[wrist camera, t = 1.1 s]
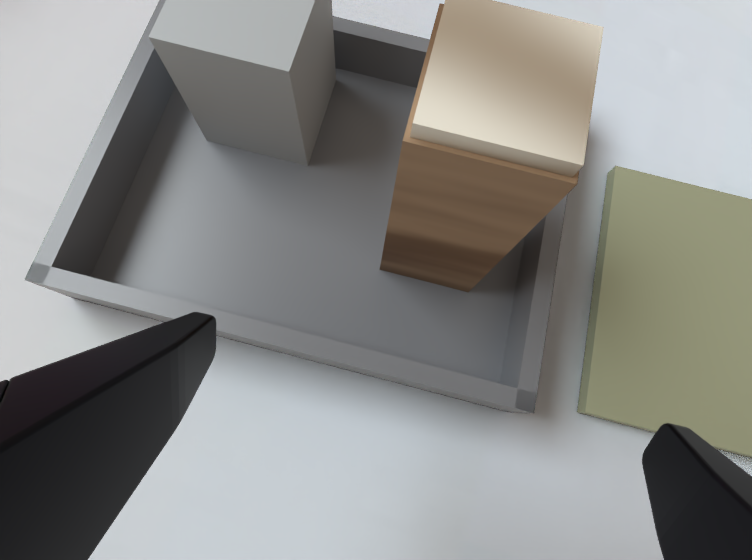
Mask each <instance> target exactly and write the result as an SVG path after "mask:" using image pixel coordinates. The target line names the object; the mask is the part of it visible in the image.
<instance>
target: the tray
mask: <svg viewBox="0 0 752 560" xmlns="http://www.w3.org/2000/svg"><path fill="white" fill-rule="evenodd" d="M165 1H166V0H159V3H158V5H157V7H156V9H155V11H154V13H153V15H152V17H151V19H150V21H149V23H148V25H147V27H146V29H145V31H144V34H143V36H142V38H141V40H140V42H139V44H138V46H137V48H136V50H135V52H134V54H133V56H132V58H131V60H130V62H129V65H128V67H127V69H126V71H125V73H124V75H123V77H122V79H121V81H120V83H119V85H118V87H117V89H116V91H115V93H114V96H113V98H112V100H111V102H110V104H109V106H108V108H107V110H106V112H105V114H104V116H103V118H102V120H101V122H100V125H99V127H98V129H97V131H96V133H95V135H94V137H93V139H92V141H91V143H90V145H89V147H88V149H87V151H86V153H85V156H84V158H83V160H82V162H81V164H80V166H79V168H78V170H77V172H76V174H75V176H74V178H73V180H72V182H71V184H70V187H69V189H68V191H67V193H66V195H65V197H64V199H63V201H62V203H61V205H60V207H59V209H58V211H57V213H56V215H55V218H54V220H53V222H52V224H51V226H50V228H49V230H48V232H47V234H46V236H45V238H44V240H43V242H42V244H41V246H40V249H39V251H38V253H37V255H36V257H35V259H34V261H33V263H32V265H31V267H30V269H29V271H28V273H27V275H26V278H25V280H27V281H29V282H32V283H34V284H37V285H40V286H42V287H45V288H48V289H50V290H53V291H56V292H58V293H61V294H64V295H66V296H69V297H72V298H76V299H79V300H83V301H87V302H91V303H95V304H99V305H102V306H106V307H110V308H114V309H118V310H121V311H125V312H129V313H133V314H137V315H140V316H144V317H148V318H152V319H156V320H160V321H163V322H167V321H170V320H173V319H175V318H178V317H181V316H184V315H186V314H189V313H192V312H201V313H205V314H209V315H213V316H214V317H215V318H216V335H217V336H221V337H224V338H228V339H232V340H236V341H240V342H243V343H247V344H251V345H255V346H259V347H262V348H266V349H270V350H274V351H278V352H281V353H285V354H289V355H293V356H297V357H301V358H304V359H308V360H312V361H316V362H320V363H323V364H327V365H331V366H335V367H339V368H342V369H346V370H350V371H354V372H358V373H362V374H365V375H369V376H373V377H377V378H381V379H384V380H388V381H392V382H396V383H400V384H403V385H407V386H411V387H415V388H419V389H423V390H426V391H430V392H434V393H438V394H442V395H445V396H449V397H453V398H457V399H461V400H464V401H468V402H472V403H476V404H480V405H484V406H487V407H491V408H495V409H499V410H503V411H506V412H519V413H534V409H535V403H536V396H537V390H538V383H539V377H540V370H541V364H542V357H543V351H544V344H545V338H546V331H547V324H548V318H549V311H550V305H551V298H552V292H553V285H554V279H555V272H556V266H557V259H558V252H559V246H560V239H561V233H562V226H563V220H564V213H565V207H566V200H567V195H566V196H565V197H564V198H563V199H562V200H561V201H560V202H559V203H558V204H557V205H556V206H555V207H554V208H553V209H552V210H551V211H550V212H549V213H548V214H547V215H546V216H545V217H544V218H543V219H542V220H541V221H540V222H539V223H538V224H537V225H536V226H535V227H534V228H533V229H532V230H531V231H530V232H529V233H528V234H527V235H526V236H525V237H524V238H523V239H522V240H521V241H520V242H519V243H518V244H517V245H516V246H515V247H514V248H512V249H511V250H510V251H509V252H508V253H507V254H506V255H505V256H504V257H503V258H502V259H501V260H500V261H499V262H498V263H497V264H496V265H495V266H494V267H493V268H492V269H491V270H490V271H489V272H488V273H487V274H486V275H485V276H484V277H483V278H482V279H481V280H480V281H479V282H478V283H477V284H476V285H475V286H474V287H473V288H472V289H471V290H470V291H469V292H465V291H461V290H457V289H453V288H449V287H445V286H442V285H438V284H434V283H430V282H426V281H422V280H418V279H414V278H410V277H406V276H403V275H399V274H395V273H391V272H387V271H383V270H380V264H381V259H382V253H383V247H384V242H385V236H386V231H387V225H388V219H389V214H390V208H391V203H392V197H393V192H394V186H395V180H396V175H397V169H398V164H399V158H400V152H401V147H402V141H403V137H404V134H405V130H406V126H407V123H408V119H409V115H410V112H411V108H412V104H413V101H414V97H415V93H416V90H417V86H418V82H419V78H420V75H421V71H422V67H423V64H424V60H425V56H426V53H427V49H428V45H429V42H430V40H429V39H425V38H421V37H417V36H413V35H409V34H404V33H400V32H396V31H392V30H388V29H384V28H380V27H376V26H372V25H367V24H363V23H359V22H355V21H351V20H347V19H343V18H339V17H334V16H332V18H333V35H334V52H335V69H336V82H335V85H334V88H333V91H332V94H331V97H330V100H329V103H328V106H327V109H326V112H325V115H324V118H323V121H322V124H321V127H320V130H319V133H318V137H317V140H316V143H315V146H314V149H313V152H312V155H311V158H310V161H309V164H308V166H306V165H302V164H298V163H294V162H290V161H286V160H282V159H278V158H274V157H270V156H266V155H262V154H258V153H254V152H250V151H246V150H242V149H238V148H234V147H231V146H227V145H223V144H219V143H215V142H211V141H207V140H206V138H205V137H204V135H203V133H202V131H201V130H200V128H199V126H198V124H197V122H196V121H195V119H194V117H193V115H192V114H191V112H190V110H189V108H188V106H187V105H186V103H185V101H184V99H183V98H182V96H181V94H180V92H179V90H178V89H177V87H176V85H175V83H174V82H173V80H172V78H171V76H170V74H169V73H168V71H167V69H166V67H165V66H164V64H163V62H162V60H161V58H160V57H159V55H158V53H157V51H156V50H155V48H154V46H153V44H152V42H151V41H150V39H149V35H150V33H151V31H152V28H153V26H154V24H155V22H156V20H157V18H158V16H159V14H160V12H161V10H162V8H163V5H164V3H165Z"/></svg>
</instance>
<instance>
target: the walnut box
mask: <svg viewBox="0 0 752 560" xmlns="http://www.w3.org/2000/svg"><path fill="white" fill-rule="evenodd" d="M603 28H604V27H601V26H597V25H592V24H588V23H584V22H580V21H576V20H572V19H567V18H563V17H559V16H555V15H551V14H547V13H542V12H538V11H534V10H530V9H526V8H522V7H517V6H513V5H509V4H505V3H501V2H497V1H492V0H445V4H440V5H439V8H438V12H437V16H436V19H435V23H434V27H433V30H432V34H431V38H430V42H429V45H428V49H427V53H426V56H425V60H424V64H423V67H422V71H421V75H420V78H419V82H418V86H417V90H416V93H415V97H414V101H413V104H412V108H411V112H410V115H409V119H408V123H407V126H406V130H405V134H404V137H403V141H402V147H401V152H400V158H399V164H398V169H397V175H396V180H395V186H394V192H393V197H392V203H391V208H390V214H389V219H388V225H387V231H386V236H385V242H384V247H383V253H382V259H381V264H380V270H383V271H387V272H391V273H395V274H399V275H403V276H406V277H410V278H414V279H418V280H422V281H426V282H430V283H434V284H438V285H442V286H445V287H449V288H453V289H457V290H461V291H465V292H469V291H470V290H471V289H472V288H473V287H474V286H475V285H476V284H477V283H478V282H479V281H480V280H481V279H482V278H483V277H484V276H485V275H486V274H487V273H488V272H489V271H490V270H491V269H492V268H493V267H494V266H495V265H496V264H497V263H498V262H499V261H500V260H501V259H502V258H503V257H504V256H505V255H506V254H507V253H508V252H509V251H510V250H511V249H512V248H514V247H515V246H516V245H517V244H518V243H519V242H520V241H521V240H522V239H523V238H524V237H525V236H526V235H527V234H528V233H529V232H530V231H531V230H532V229H533V228H534V227H535V226H536V225H537V224H538V223H539V222H540V221H541V220H542V219H543V218H544V217H545V216H546V215H547V214H548V213H549V212H550V211H551V210H552V209H553V208H554V207H555V206H556V205H557V204H558V203H559V202H560V201H561V200H562V199H563V198H564V197H565V196H566V195H567V194H568V193H569V192H570V191H571V190H572V189H573V188H574V187H575V186H576V185H577V182H578V175H579V170H580V169H581V168H582V167H583V166H584V159H585V152H586V145H587V138H588V131H589V124H590V117H591V110H592V104H593V97H594V90H595V83H596V76H597V69H598V62H599V55H600V48H601V42H602V35H603Z"/></svg>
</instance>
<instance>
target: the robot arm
mask: <svg viewBox="0 0 752 560" xmlns="http://www.w3.org/2000/svg"><path fill="white" fill-rule="evenodd" d="M215 351H216V318H215V317H214V316H213V315H209V314H205V313H201V312H192V313H189V314H186V315H184V316H181V317H178V318H175V319H173V320H170V321H167V322H164V323H162V324H159V325H156V326H153V327H151V328H148V329H145V330H142V331H140V332H137V333H134V334H131V335H128V336H126V337H123V338H120V339H117V340H115V341H112V342H109V343H106V344H104V345H101V346H98V347H95V348H93V349H90V350H87V351H84V352H82V353H79V354H76V355H73V356H70V357H68V358H65V359H62V360H59V361H57V362H54V363H51V364H48V365H46V366H43V367H40V368H37V369H35V370H32V371H29V372H26V373H23V374H21V375H18V376H15V377H13V378H11V379H10V381H8V380H4V381H1V382H0V560H88V558H89V557H90V556H91V554H92V553H93V551H94V550H95V548H96V547H97V545H98V544H99V542H100V541H101V539H102V538H103V536H104V535H105V533H106V532H107V530H108V529H109V527H110V526H111V524H112V523H113V522H114V520H115V519H116V517H117V516H118V514H119V513H120V511H121V510H122V508H123V507H124V505H125V504H126V502H127V501H128V499H129V498H130V496H131V495H132V493H133V492H134V490H135V489H136V488H137V486H138V485H139V483H140V482H141V480H142V479H143V477H144V476H145V474H146V473H147V471H148V470H149V468H150V467H151V465H152V464H153V462H154V461H155V459H156V458H157V456H158V455H159V454H160V452H161V451H162V449H163V448H164V446H165V445H166V443H167V442H168V440H169V439H170V437H171V436H172V434H173V433H174V431H175V430H176V428H177V426H178V425H179V423H180V422H181V420H182V418H183V416H184V414H185V413H186V411H187V409H188V407H189V405H190V403H191V401H192V399H193V397H194V395H195V393H196V392H197V390H198V388H199V386H200V384H201V382H202V380H203V378H204V376H205V374H206V372H207V370H208V369H209V367H210V365H211V363H212V361H213V358H214V356H215ZM642 465H643V470H644V475H645V479H646V484H647V489H648V494H649V499H650V504H651V508H652V513H653V518H654V523H655V528H656V532H657V536H658V540H659V544H660V547H661V551H662V554H663V558H664V560H752V476H750V475H749V474H748V473H746V472H745V471H744V470H743V469H741V468H740V467H739V466H737V465H736V464H735V463H734V462H732V461H731V460H730V459H728V458H727V457H726V456H725V455H723V454H722V453H721V452H719V451H718V450H717V449H715V448H714V447H713V446H712V445H710V444H709V443H708V442H706V441H705V440H704V439H703V438H701V437H700V436H699V435H697V434H696V433H695V432H694V431H692V430H691V429H689V428H687V427H684V426H680V425H675V424H671V423H665V424H663V425H661V426H660V427H659V429H658V430H657V432H656V433H655V435H654V437H653V438H652V440H651V441H650V443H649V444H648V446H647V447H646V449H645V451H644V453H643V457H642Z"/></svg>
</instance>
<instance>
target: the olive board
mask: <svg viewBox="0 0 752 560" xmlns="http://www.w3.org/2000/svg"><path fill="white" fill-rule="evenodd" d="M577 412H578V413H582V414H586V415H590V416H593V417H597V418H601V419H605V420H609V421H613V422H616V423H620V424H624V425H628V426H632V427H636V428H639V429H643V430H647V431H651V432H655V433H656V432H657V430H658V429H659V427H660V426H661V425H663V424H665V423H671V424H675V425H680V426H684V427H687V428H689V429H691V430H692V431H694V432H695V433H696V434H697V435H699V436H700V437H701V438H703V439H704V440H705V441H706V442H708V443H709V444H710V445H712V446H713V447H714V448H716V449H720V450H724V451H727V452H731V453H735V454H739V455H743V456H746V457H750V458H752V199H748V198H744V197H740V196H736V195H732V194H727V193H723V192H719V191H715V190H711V189H707V188H703V187H699V186H695V185H691V184H687V183H683V182H679V181H675V180H671V179H667V178H663V177H659V176H655V175H651V174H647V173H643V172H639V171H635V170H631V169H626V168H622V167H618V166H615V167H614V168H613V169H612V170H611V171H610V172H608V175H607V183H606V190H605V198H604V206H603V214H602V222H601V230H600V237H599V245H598V253H597V261H596V269H595V276H594V284H593V292H592V300H591V308H590V315H589V323H588V331H587V339H586V347H585V355H584V362H583V370H582V378H581V386H580V394H579V401H578V409H577Z"/></svg>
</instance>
